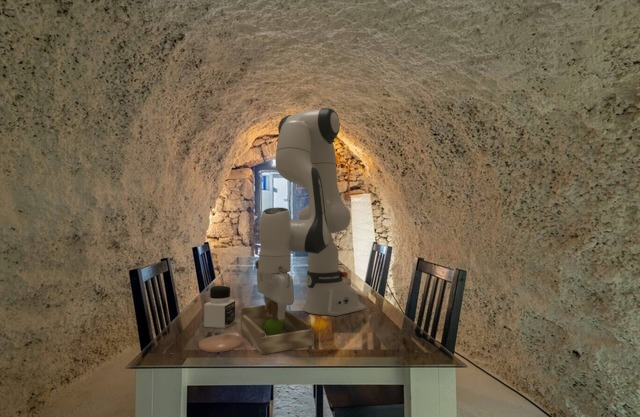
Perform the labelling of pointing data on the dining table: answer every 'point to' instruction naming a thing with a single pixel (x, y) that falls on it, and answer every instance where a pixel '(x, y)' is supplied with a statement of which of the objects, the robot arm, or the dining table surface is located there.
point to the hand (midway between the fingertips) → (274, 314)
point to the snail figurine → (273, 320)
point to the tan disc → (220, 343)
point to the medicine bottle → (219, 308)
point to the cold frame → (297, 338)
